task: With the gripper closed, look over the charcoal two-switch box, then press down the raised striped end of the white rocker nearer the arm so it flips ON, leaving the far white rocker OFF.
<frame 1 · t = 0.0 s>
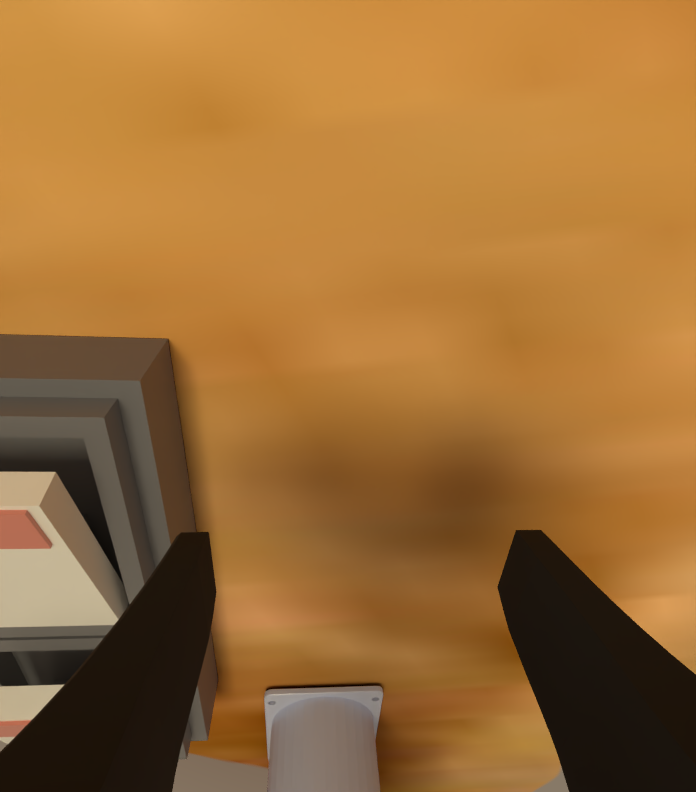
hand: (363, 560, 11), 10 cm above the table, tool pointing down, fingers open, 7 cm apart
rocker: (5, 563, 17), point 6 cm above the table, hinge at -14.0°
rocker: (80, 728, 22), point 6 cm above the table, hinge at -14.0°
switch box: (100, 551, 24), on the table
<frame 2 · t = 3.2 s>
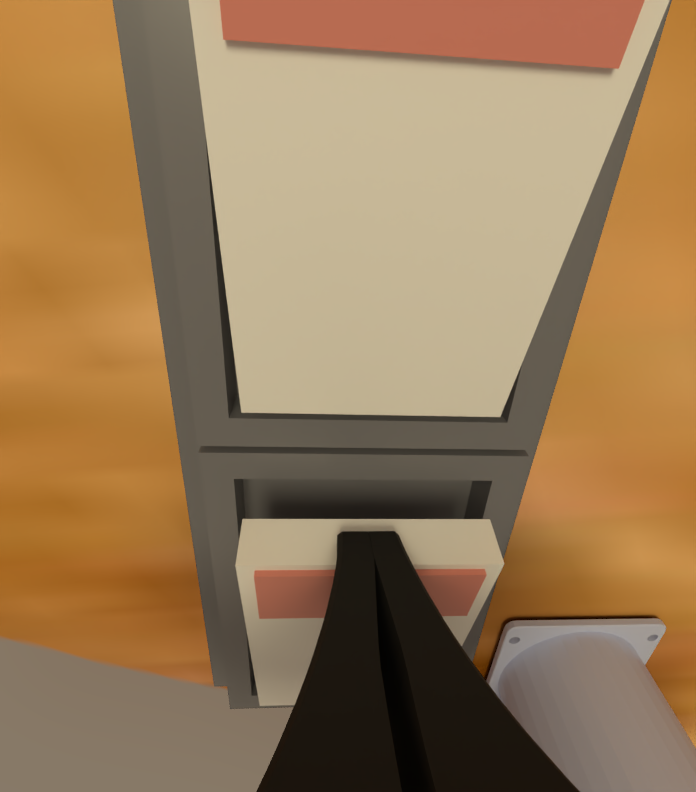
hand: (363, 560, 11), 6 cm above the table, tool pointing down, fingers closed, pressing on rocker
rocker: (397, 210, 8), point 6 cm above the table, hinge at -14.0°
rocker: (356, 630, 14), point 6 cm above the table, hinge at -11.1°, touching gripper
switch box: (355, 368, 16), on the table
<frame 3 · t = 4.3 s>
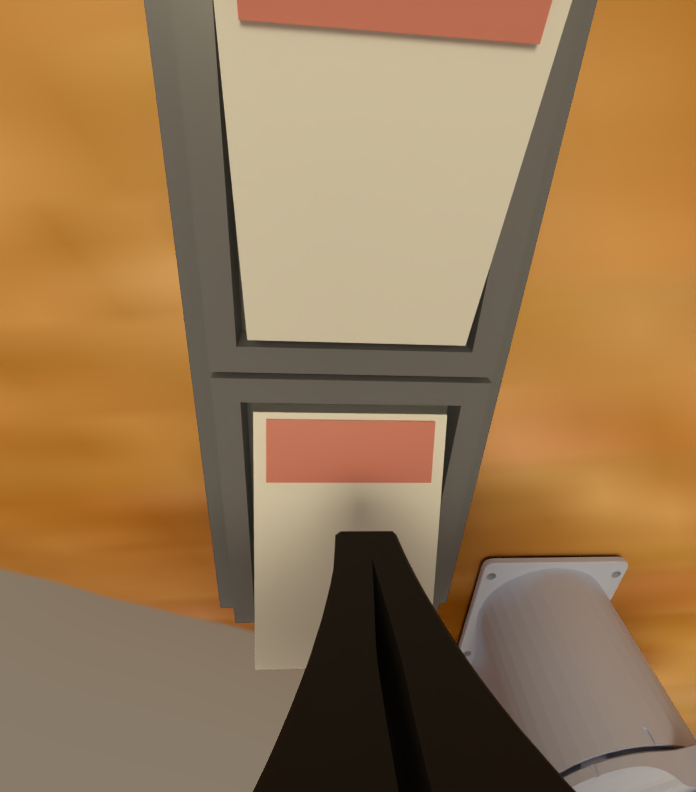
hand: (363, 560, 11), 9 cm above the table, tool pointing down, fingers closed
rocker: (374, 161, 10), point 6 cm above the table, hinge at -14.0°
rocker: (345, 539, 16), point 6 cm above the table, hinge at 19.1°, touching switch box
switch box: (345, 318, 18), on the table
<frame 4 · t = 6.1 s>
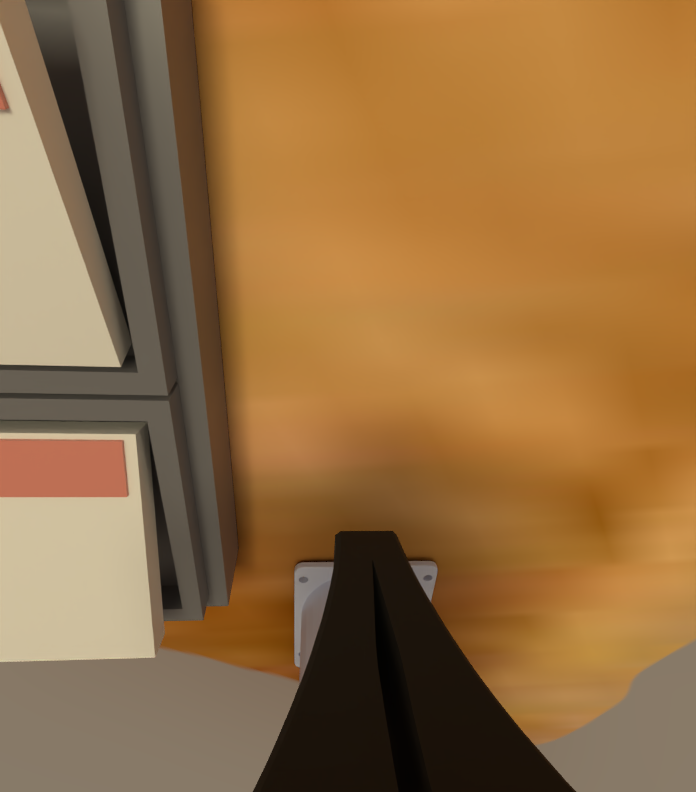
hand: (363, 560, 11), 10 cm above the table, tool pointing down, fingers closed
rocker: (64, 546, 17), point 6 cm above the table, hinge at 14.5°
switch box: (93, 336, 19), on the table
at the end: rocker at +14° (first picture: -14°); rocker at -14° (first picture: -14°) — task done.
